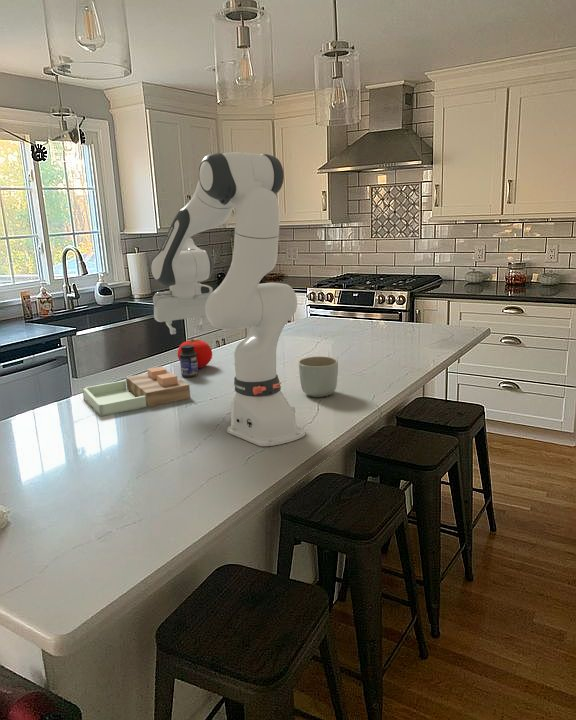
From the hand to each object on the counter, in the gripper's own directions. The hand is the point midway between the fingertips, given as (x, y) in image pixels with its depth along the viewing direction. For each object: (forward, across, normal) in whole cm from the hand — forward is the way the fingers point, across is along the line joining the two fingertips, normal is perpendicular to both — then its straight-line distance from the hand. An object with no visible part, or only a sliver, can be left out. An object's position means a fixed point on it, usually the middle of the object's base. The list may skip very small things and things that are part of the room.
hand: (187, 331), depth 191 cm
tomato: (+21, +13, +28) cm, 37 cm away
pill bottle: (+21, +7, +19) cm, 29 cm away
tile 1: (+16, -8, 0) cm, 18 cm away
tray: (+20, -24, +4) cm, 32 cm away
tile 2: (+16, -8, +10) cm, 20 cm away
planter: (+20, +32, -28) cm, 47 cm away
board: (+20, -10, +4) cm, 23 cm away
